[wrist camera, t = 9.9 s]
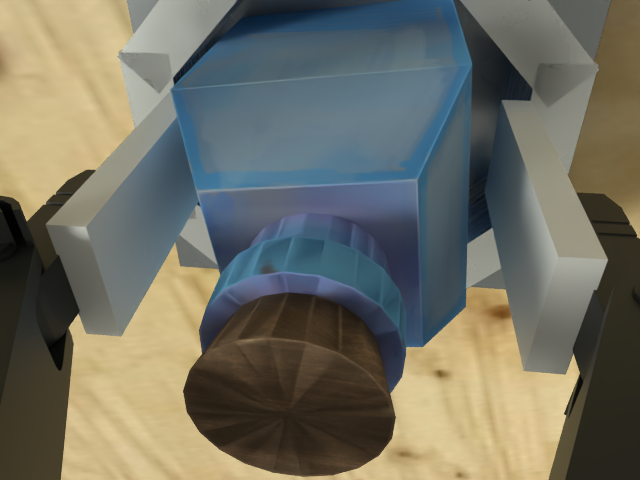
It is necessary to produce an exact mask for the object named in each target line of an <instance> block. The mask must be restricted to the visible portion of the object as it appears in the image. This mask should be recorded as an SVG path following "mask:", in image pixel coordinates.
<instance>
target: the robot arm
mask: <svg viewBox="0 0 640 480" xmlns="http://www.w3.org/2000/svg"><path fill="white" fill-rule="evenodd" d="M485 197H486V201H487V206H488V210H489V215H490V219H491V224H492V228H493V233H494V238H495V242H496V247H497V251H498V256H499V260H500V265H501V269H502V274H503V278H504V283H505V287H506V292H507V297H508V301H509V306H510V310H511V315H512V319H513V324H514V328H515V333H516V337H517V342H518V347H519V351H520V356H521V360H522V365H523V369H524V371H531V372H542V373H554V374H566V372H567V369H568V367H569V364H570V361H571V359H572V356H573V353H574V356H575V359H576V362H577V365H578V368H579V371H580V374H579V377H578V380H577V382H576V385H575V387H574V390H573V392H572V395H571V397H570V400H569V403H568V405H567V408H566V410H565V413H564V414H565V415H567V416H566V419H565V423H564V426H563V430H562V434H561V437H560V441H559V444H558V448H557V451H556V455H555V459H554V462H553V466H552V469H551V473H550V476H549V480H640V239H639V238H637V234H636V232H635V231H634V229H633V227H632V225H630V222H629V220H628V218H627V217H626V215H625V213H624V212H623V210H622V208H621V207H620V206H618V205H617V204H616V203H615V202H613V201H612V200H611V199H609V198H608V197H607V196H605V195H604V194H592V193H576V192H575V189H574V187H573V185H572V183H571V181H570V179H569V177H568V175H567V173H566V171H565V169H564V166H563V164H562V162H561V160H560V158H559V156H558V154H557V152H556V150H555V148H554V145H553V143H552V141H551V139H550V137H549V135H548V133H547V131H546V129H545V127H544V125H543V122H542V120H541V118H540V116H539V114H538V112H537V110H536V108H535V106H534V104H533V101H517V100H501V106H500V111H499V116H498V122H497V127H496V133H495V138H494V143H493V149H492V154H491V159H490V165H489V170H488V176H487V181H486V186H485ZM198 202H199V200H198V196H197V193H196V189H195V185H194V181H193V177H192V173H191V169H190V165H189V162H188V158H187V154H186V150H185V146H184V142H183V138H182V134H181V130H180V126H179V122H178V119H177V115H176V111H175V107H174V103H173V99H172V95H171V91H170V92H169V93H168V94H167V95H166V96H165V97H164V98H163V99H162V100H161V102H160V103H159V104H158V105H157V106H156V107H155V108H154V109H153V110H152V111H151V112H150V113H149V114H148V115H147V117H146V118H145V119H144V120H143V121H142V122H141V123H140V124H139V125H138V126H137V127H136V128H135V129H134V130H133V131H132V133H131V134H130V135H129V136H128V137H127V138H126V139H125V140H124V141H123V142H122V143H121V144H120V145H119V146H118V148H117V149H116V150H115V151H114V152H113V153H112V154H111V155H110V156H109V157H108V158H107V159H106V160H105V161H104V162H103V164H102V165H101V166H100V167H99V168H98V169H97V170H85V171H84V172H82V173H80V174H78V175H76V176H75V177H73V178H71V179H69V180H68V181H67V182H66V183H65V184H64V185H63V186H62V187H61V188H60V189H59V190H58V191H57V192H56V195H53V196H52V197H51V198H50V199H49V200H48V201H47V202H46V205H43V206H42V207H41V208H40V209H39V210H38V211H37V212H36V213H35V214H34V215H33V216H32V217H31V218H30V219H29V220H28V221H27V222H26V219H25V216H24V214H23V211H22V209H21V206H20V204H19V202H18V201H16V200H15V199H13V198H10V197H5V196H0V480H61V471H62V460H63V450H64V439H65V429H66V418H67V408H68V397H69V387H70V376H71V366H72V355H73V345H74V344H73V339H72V335H71V333H70V330H69V328H68V327H69V326H70V324H71V323H72V322H73V320H74V319H75V317H76V316H77V314H78V313H79V316H80V318H81V321H82V324H83V326H84V329H85V332H86V334H98V335H109V336H122V334H123V332H124V331H125V329H126V327H127V325H128V324H129V322H130V320H131V318H132V317H133V315H134V313H135V311H136V310H137V308H138V306H139V304H140V303H141V301H142V299H143V297H144V296H145V294H146V292H147V290H148V289H149V287H150V285H151V284H152V282H153V280H154V278H155V277H156V275H157V273H158V271H159V270H160V268H161V266H162V264H163V263H164V261H165V259H166V257H167V256H168V254H169V252H170V250H171V249H172V247H173V245H174V243H175V242H176V240H177V238H178V236H179V235H180V233H181V231H182V230H183V228H184V226H185V224H186V223H187V221H188V219H189V217H190V216H191V214H192V212H193V210H194V209H195V207H196V205H197V203H198Z"/></svg>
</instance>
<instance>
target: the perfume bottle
mask: <svg viewBox="0 0 640 480" xmlns="http://www.w3.org/2000/svg"><path fill="white" fill-rule="evenodd" d="M170 91H171V95H172V99H173V103H174V107H175V111H176V115H177V119H178V122H179V126H180V130H181V134H182V138H183V142H184V146H185V150H186V154H187V158H188V162H189V165H190V169H191V173H192V177H193V181H194V185H195V189H196V193H197V196H198V200H199V203H200V206H201V210H202V213H203V217H204V220H205V224H206V227H207V230H208V234H209V237H210V241H211V244H212V248H213V251H214V255H215V258H216V261H217V265H218V268H219V272H220V278H219V280H218V282H217V285H216V287H215V289H214V291H213V294H212V296H211V298H210V300H209V303H208V305H207V307H206V310H205V313H204V316H203V319H202V323H201V326H200V329H199V334H200V341H201V348H202V355H201V356H200V357H199V359H198V360H197V361H196V363H195V364H194V365H193V367H192V368H191V369H190V371H189V374H188V377H187V380H186V383H185V387H184V390H183V393H184V398H185V404H186V410H187V413H188V414H189V416H190V418H191V419H192V421H193V422H194V424H195V426H196V427H197V429H198V430H199V432H200V433H201V434H202V435H204V436H205V437H206V438H207V439H208V440H209V441H210V442H211V443H213V444H214V445H215V446H216V447H217V448H218V449H219V450H221V451H223V452H225V453H227V454H229V455H230V456H232V457H234V458H236V459H238V460H240V461H241V462H243V463H245V464H248V465H251V466H254V467H258V468H261V469H264V470H267V471H270V472H273V473H280V474H287V475H295V476H302V477H307V476H327V475H335V474H339V473H342V472H346V471H350V470H353V469H357V468H359V467H361V466H363V465H364V464H366V463H368V462H369V461H371V460H373V459H374V458H376V457H377V456H379V455H380V453H381V452H382V451H383V450H384V448H385V447H386V446H387V444H388V443H389V442H390V440H391V439H392V436H393V430H394V424H395V418H396V417H395V412H394V408H393V404H392V400H391V395H390V393H391V392H392V390H393V389H394V388H395V386H396V385H397V383H398V382H399V380H400V379H401V378H402V374H403V368H404V362H405V357H406V347H423V346H424V345H425V344H427V343H428V342H429V341H430V340H431V339H432V338H433V337H434V336H435V335H436V334H437V333H438V332H439V331H440V330H442V329H443V328H444V327H445V326H446V325H447V324H448V323H449V322H450V321H451V320H452V319H453V318H454V317H455V316H456V315H458V314H459V313H460V312H461V311H462V310H463V309H464V308H465V307H466V278H467V241H468V204H469V167H470V130H471V93H472V61H471V58H470V55H469V51H468V48H467V45H466V41H465V38H464V35H463V32H462V28H461V25H460V22H459V18H458V15H457V12H456V8H455V5H454V2H453V0H402V1H392V2H383V3H374V4H364V5H355V6H346V7H337V8H327V9H318V10H309V11H299V12H290V13H281V14H271V15H262V16H253V17H244V18H241V19H240V20H239V21H238V22H237V23H236V24H235V25H234V26H233V27H232V28H231V29H230V30H229V31H228V32H227V33H226V34H225V35H224V36H223V37H222V38H221V39H220V40H219V41H218V42H217V43H216V44H215V45H214V46H213V47H212V48H211V49H210V50H209V51H208V52H207V53H206V54H205V55H204V56H203V57H202V58H201V59H200V60H199V61H198V62H197V63H196V64H195V65H194V66H193V67H192V68H191V69H190V70H189V71H188V72H187V73H186V74H185V75H184V76H183V77H182V78H181V79H180V80H179V81H178V82H177V83H176V84H175V85H174V86H173V87H172V88H171V89H170Z"/></svg>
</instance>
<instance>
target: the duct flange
mask: <svg viewBox="0 0 640 480" xmlns="http://www.w3.org/2000/svg"><path fill="white" fill-rule="evenodd" d="M392 1H402V0H127V3H128V8H129V13H130V18H131V23H132V28H133V33H134V35H133V36H132V38H131V39H130V40H129V42H128V43H127V44H126V46H125V47H124V48H123V49H122V50H121V51H119V52H118V54H119V55H118V56H117V57H118V58H119V59H120V63H121V68H122V72H123V77H124V81H125V86H126V90H127V95H128V99H129V104H130V108H131V113H132V117H133V122H134V126H135V128H136V127H137V126H138V125H139V124H140V123H141V122H142V121H143V120H144V119H145V118H146V117H147V115H148V114H149V113H150V112H151V111H152V110H153V109H154V108H155V107H156V106H157V105H158V104H159V103H160V102H161V100H162V99H163V98H164V97H165V96H166V95H167V94H168V93H169V92H170V89H171V88H172V87H173V86H174V85H175V84H176V83H177V82H178V81H179V80H180V79H181V78H182V77H183V76H184V75H185V74H186V73H187V72H188V71H189V70H190V69H191V68H192V67H193V66H194V65H195V64H196V63H197V62H198V61H199V60H200V59H201V58H202V57H203V56H204V55H205V54H206V53H207V52H208V51H209V50H210V49H211V48H212V47H213V46H214V45H215V44H216V43H217V42H218V41H219V40H220V39H221V38H222V37H223V36H224V35H225V34H226V33H227V32H228V31H229V30H230V29H231V28H232V27H233V26H234V25H235V24H236V23H237V22H238V21H239V20H240V19H241V18H244V17H253V16H262V15H271V14H281V13H290V12H299V11H309V10H318V9H327V8H337V7H346V6H355V5H364V4H374V3H383V2H392ZM453 2H454V5H455V8H456V12H457V15H458V18H459V22H460V25H461V28H462V32H463V35H464V38H465V41H466V45H467V48H468V51H469V55H470V58H471V61H472V93H471V130H470V167H469V204H468V241H467V278H466V289H467V288H469V287H481V288H495V289H506V287H505V283H504V278H503V274H502V269H501V265H500V260H499V256H498V251H497V247H496V242H495V238H494V233H493V228H492V224H491V219H490V215H489V210H488V206H487V201H486V197H485V186H486V181H487V176H488V170H489V165H490V159H491V154H492V149H493V143H494V138H495V133H496V127H497V122H498V116H499V111H500V106H501V100H517V101H533V104H534V106H535V108H536V110H537V112H538V114H539V116H540V118H541V120H542V122H543V125H544V127H545V129H546V131H547V133H548V135H549V137H550V139H551V141H552V143H553V145H554V148H555V150H556V152H557V154H558V156H559V158H560V160H561V162H562V164H563V166H564V169H565V171H566V173H567V175H568V174H569V170H570V167H571V163H572V159H573V156H574V152H575V149H576V145H577V141H578V138H579V134H580V130H581V127H582V123H583V120H584V116H585V112H586V109H587V105H588V102H589V98H590V94H591V91H592V87H593V84H594V80H595V76H596V73H597V71H599V68H598V66H599V65H598V63H597V62H596V61H595V57H596V54H597V50H598V46H599V43H600V39H601V35H602V31H603V28H604V24H605V20H606V17H607V13H608V9H609V6H610V2H611V0H453ZM176 247H177V252H178V257H179V262H180V266H185V267H199V268H213V269H219V268H218V265H217V261H216V258H215V255H214V251H213V248H212V244H211V241H210V237H209V234H208V230H207V227H206V224H205V220H204V217H203V213H202V210H201V206H200V203H199V202H198V203H197V205H196V207H195V209H194V210H193V212H192V214H191V216H190V217H189V219H188V221H187V223H186V224H185V226H184V228H183V230H182V231H181V233H180V235H179V236H178V238H177V240H176Z"/></svg>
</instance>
